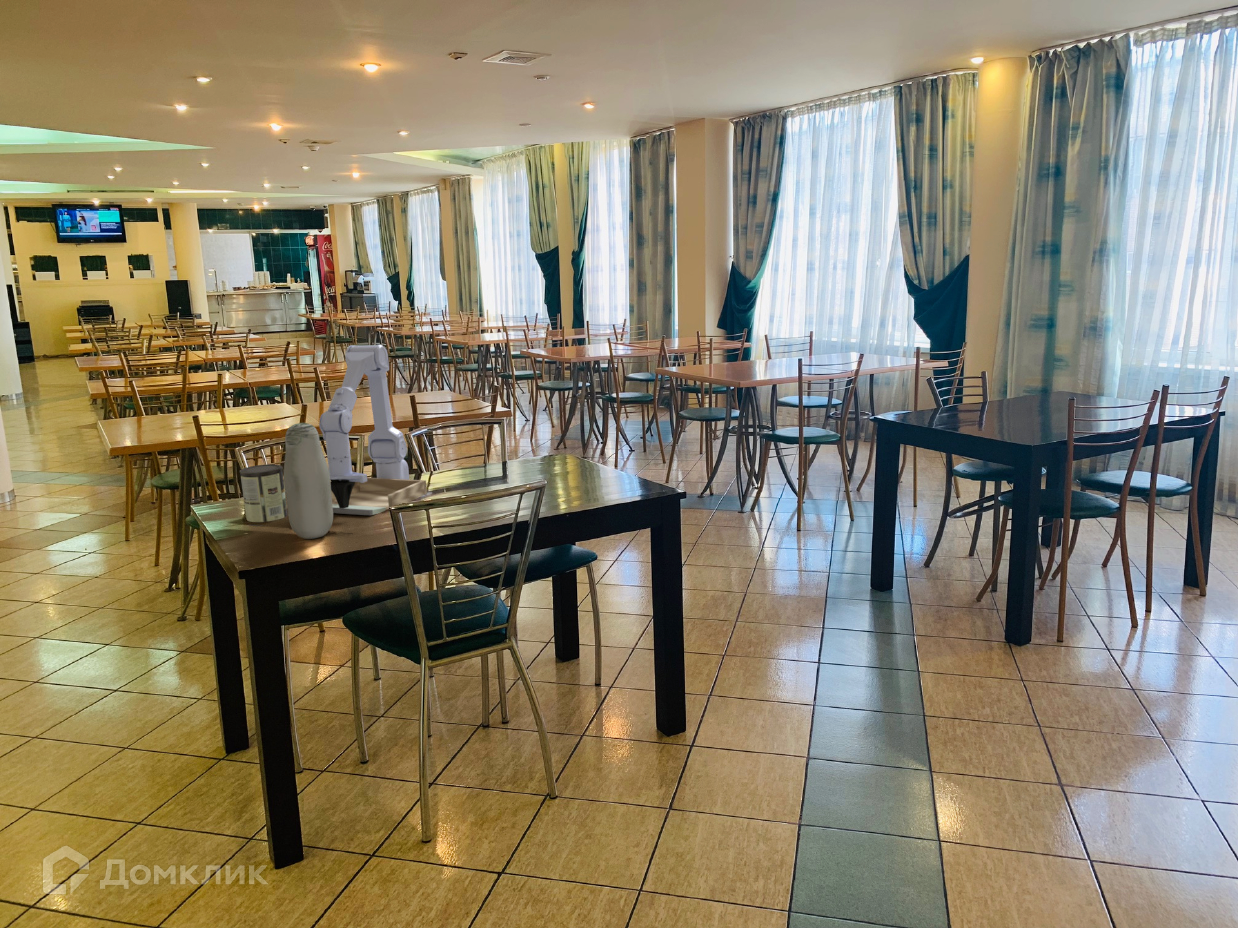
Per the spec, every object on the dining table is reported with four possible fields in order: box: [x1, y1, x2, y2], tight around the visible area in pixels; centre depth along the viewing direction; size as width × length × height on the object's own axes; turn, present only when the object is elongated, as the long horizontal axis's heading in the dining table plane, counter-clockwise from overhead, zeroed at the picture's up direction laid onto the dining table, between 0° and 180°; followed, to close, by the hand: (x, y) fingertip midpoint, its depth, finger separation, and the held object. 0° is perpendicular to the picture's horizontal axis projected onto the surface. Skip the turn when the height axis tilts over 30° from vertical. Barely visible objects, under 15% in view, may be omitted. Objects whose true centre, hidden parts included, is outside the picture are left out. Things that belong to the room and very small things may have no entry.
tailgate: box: [332, 504, 387, 516], centre depth 234 cm, size 1×19×7 cm
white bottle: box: [283, 422, 334, 540], centre depth 212 cm, size 10×10×28 cm
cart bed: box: [331, 477, 428, 510], centre depth 246 cm, size 17×22×5 cm
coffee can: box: [239, 463, 288, 527], centre depth 230 cm, size 10×10×14 cm
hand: (344, 507), depth 233 cm, fingers closed, pressing on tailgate
